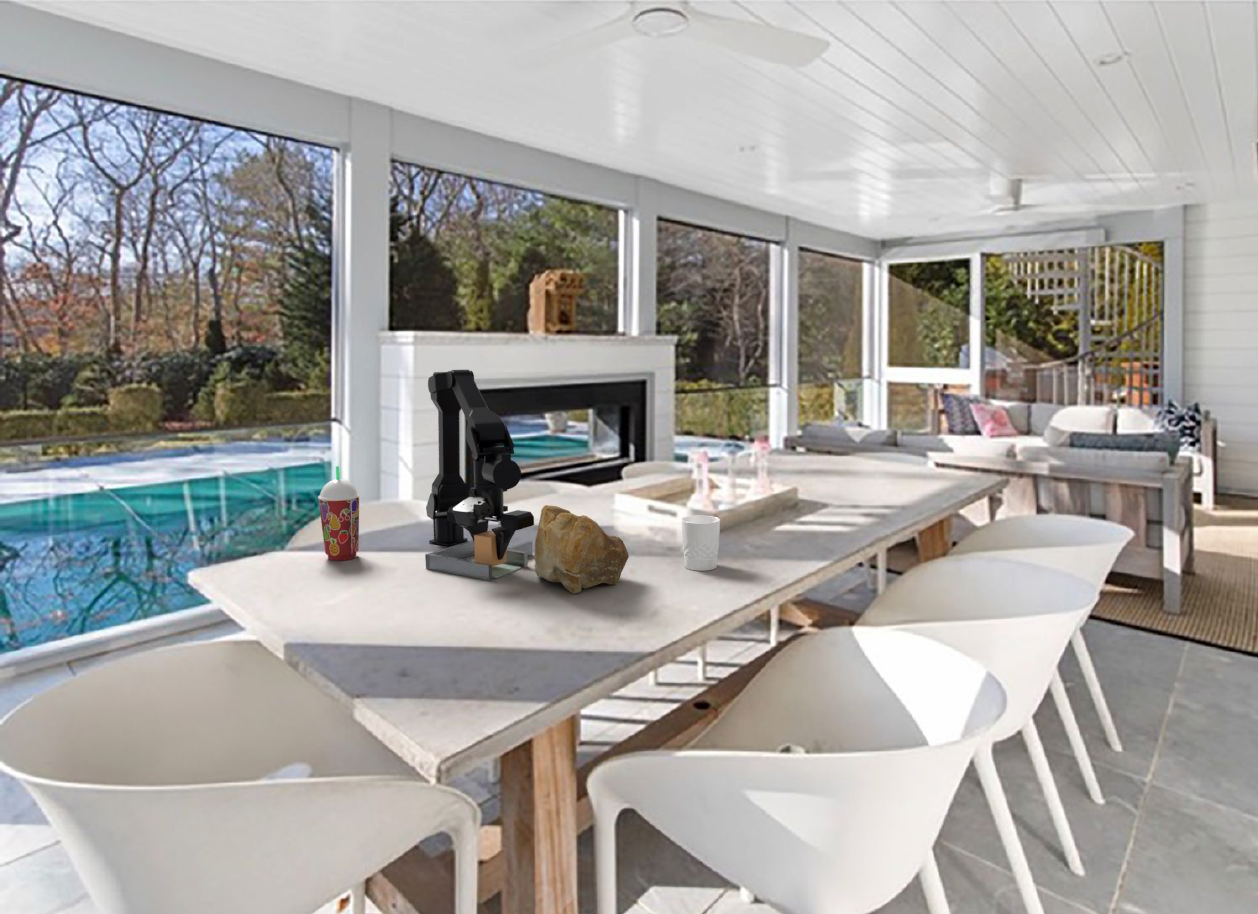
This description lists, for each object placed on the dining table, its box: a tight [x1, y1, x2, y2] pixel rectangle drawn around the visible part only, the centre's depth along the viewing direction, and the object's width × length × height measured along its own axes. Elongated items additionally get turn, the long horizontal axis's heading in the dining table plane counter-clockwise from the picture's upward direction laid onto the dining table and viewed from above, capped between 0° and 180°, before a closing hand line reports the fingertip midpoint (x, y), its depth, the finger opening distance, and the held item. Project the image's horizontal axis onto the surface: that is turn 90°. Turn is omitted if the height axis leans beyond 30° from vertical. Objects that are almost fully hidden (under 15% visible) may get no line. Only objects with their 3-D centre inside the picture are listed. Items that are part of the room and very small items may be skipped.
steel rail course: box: [424, 539, 533, 582], centre depth 167 cm, size 17×20×3 cm
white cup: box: [681, 514, 721, 572], centre depth 163 cm, size 8×8×10 cm
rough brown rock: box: [534, 504, 630, 595], centre depth 152 cm, size 23×17×15 cm
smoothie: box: [317, 465, 361, 562], centre depth 171 cm, size 8×8×20 cm
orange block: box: [474, 530, 507, 567], centre depth 161 cm, size 4×4×6 cm
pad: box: [492, 564, 523, 579], centre depth 162 cm, size 8×8×1 cm
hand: (490, 558), depth 161 cm, fingers closed on orange block, 4 cm apart
